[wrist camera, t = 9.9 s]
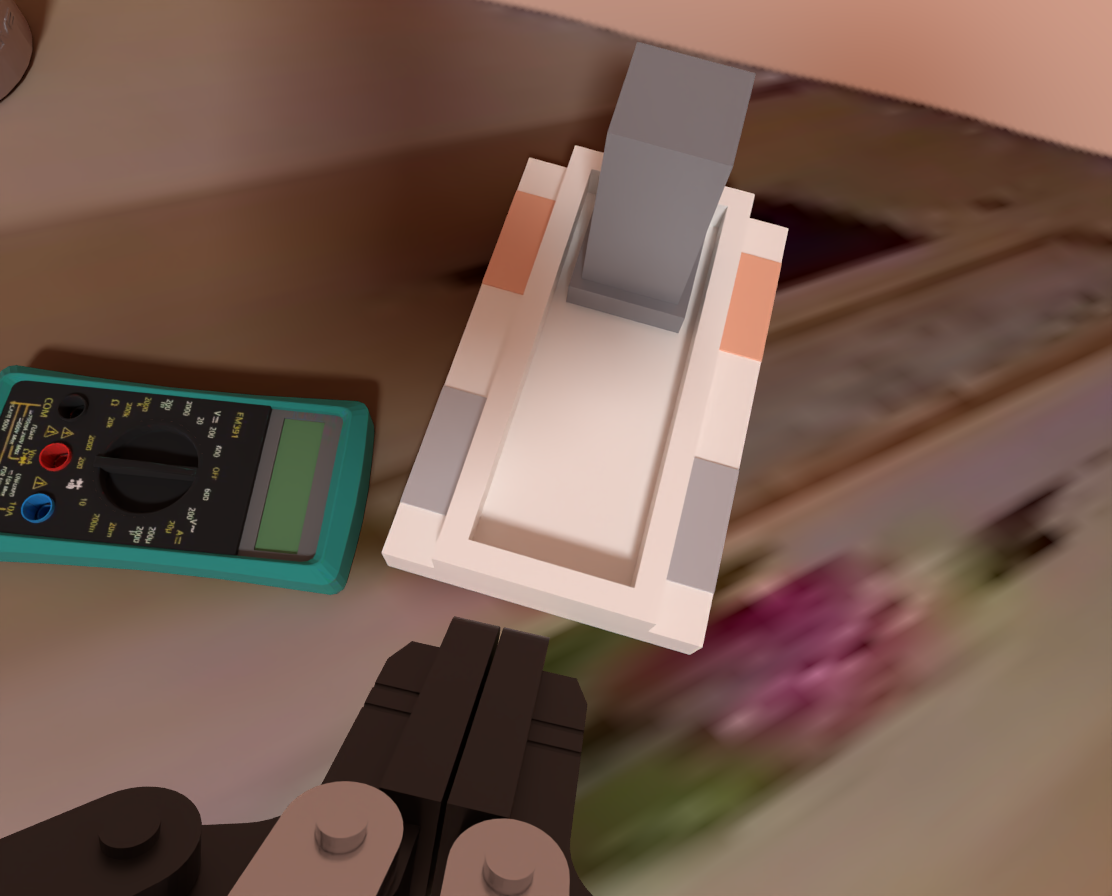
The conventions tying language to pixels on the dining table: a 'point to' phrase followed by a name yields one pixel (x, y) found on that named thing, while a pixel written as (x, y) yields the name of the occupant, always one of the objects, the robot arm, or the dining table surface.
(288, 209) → the dining table surface
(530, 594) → the switch housing
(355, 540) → the digital multimeter
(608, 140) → the slider tab
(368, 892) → the robot arm
